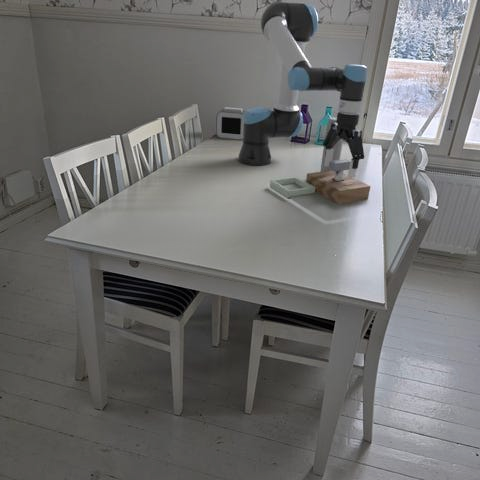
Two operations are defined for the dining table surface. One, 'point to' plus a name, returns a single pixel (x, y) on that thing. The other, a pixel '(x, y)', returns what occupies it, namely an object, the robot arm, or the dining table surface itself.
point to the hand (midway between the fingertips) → (339, 171)
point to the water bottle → (336, 147)
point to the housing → (338, 187)
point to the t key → (339, 168)
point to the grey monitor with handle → (230, 123)
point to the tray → (285, 192)
